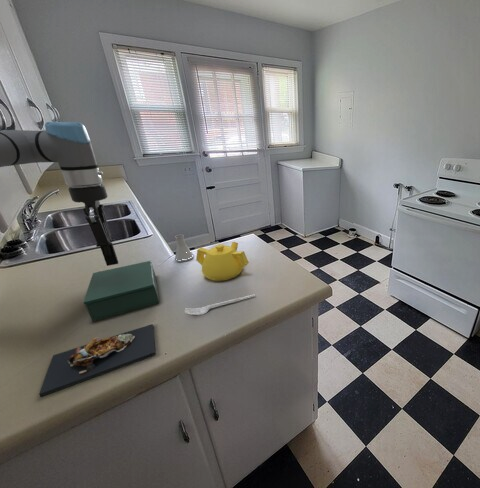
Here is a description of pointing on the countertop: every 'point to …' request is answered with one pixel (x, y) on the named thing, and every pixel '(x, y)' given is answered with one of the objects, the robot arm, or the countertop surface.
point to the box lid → (119, 282)
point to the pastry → (98, 350)
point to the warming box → (123, 302)
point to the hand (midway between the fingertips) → (112, 263)
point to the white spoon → (205, 309)
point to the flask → (182, 249)
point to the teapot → (221, 262)
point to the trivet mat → (98, 361)
